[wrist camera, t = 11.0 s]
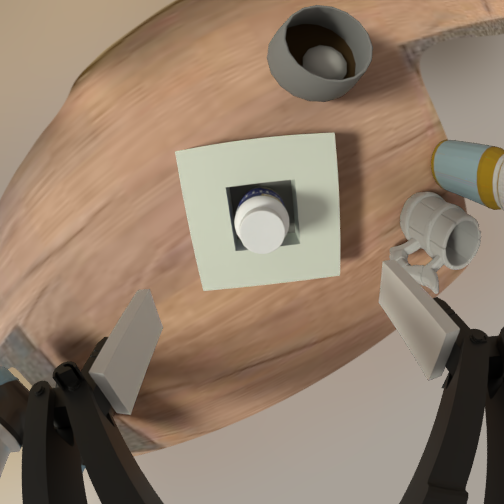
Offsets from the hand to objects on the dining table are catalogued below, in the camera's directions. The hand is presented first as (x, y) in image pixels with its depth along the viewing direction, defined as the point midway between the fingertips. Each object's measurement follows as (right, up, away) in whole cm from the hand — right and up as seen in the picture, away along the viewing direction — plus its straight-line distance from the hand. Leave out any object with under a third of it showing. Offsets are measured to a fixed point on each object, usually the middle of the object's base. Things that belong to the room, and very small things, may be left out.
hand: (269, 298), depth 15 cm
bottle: (+26, +14, +15) cm, 33 cm away
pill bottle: (0, +8, +17) cm, 19 cm away
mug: (+20, +6, +18) cm, 28 cm away
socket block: (0, +8, +17) cm, 19 cm away
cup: (+5, +23, +11) cm, 26 cm away
